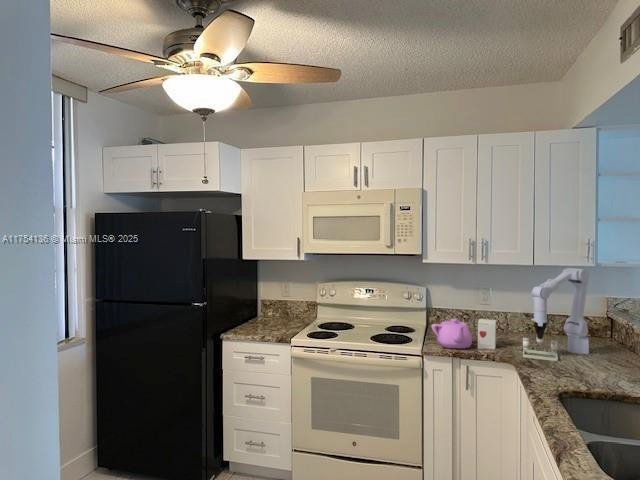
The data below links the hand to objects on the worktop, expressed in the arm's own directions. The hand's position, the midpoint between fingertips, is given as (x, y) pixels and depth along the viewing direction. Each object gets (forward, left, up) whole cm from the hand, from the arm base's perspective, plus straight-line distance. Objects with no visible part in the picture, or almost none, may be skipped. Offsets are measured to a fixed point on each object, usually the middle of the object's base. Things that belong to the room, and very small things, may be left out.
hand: (540, 338), depth 214 cm
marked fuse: (0, 0, -2) cm, 2 cm away
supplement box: (+25, -8, -10) cm, 29 cm away
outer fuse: (+6, -10, -9) cm, 15 cm away
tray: (0, 0, -10) cm, 10 cm away
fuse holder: (0, -10, -10) cm, 14 cm away
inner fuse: (-7, -10, -9) cm, 15 cm away
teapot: (+41, -3, -10) cm, 43 cm away
